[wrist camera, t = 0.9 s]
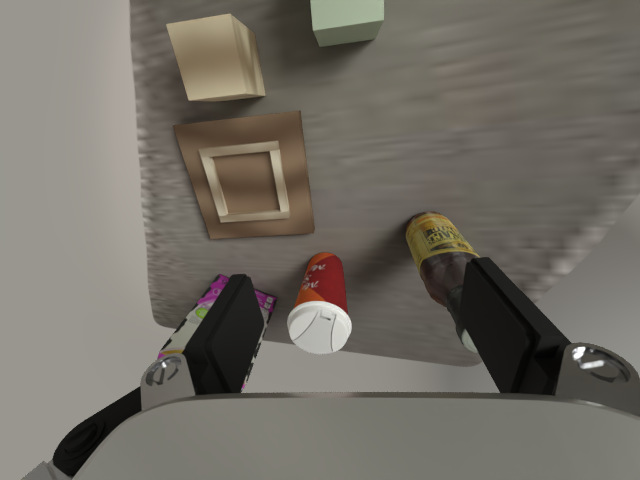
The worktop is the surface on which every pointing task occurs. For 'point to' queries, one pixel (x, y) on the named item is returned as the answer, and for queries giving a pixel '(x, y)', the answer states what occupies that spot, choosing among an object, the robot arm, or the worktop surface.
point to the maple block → (217, 59)
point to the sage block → (346, 20)
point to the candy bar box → (200, 310)
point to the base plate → (249, 174)
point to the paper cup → (321, 307)
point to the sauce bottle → (441, 263)
